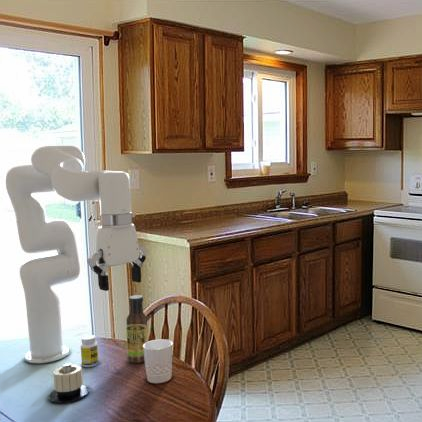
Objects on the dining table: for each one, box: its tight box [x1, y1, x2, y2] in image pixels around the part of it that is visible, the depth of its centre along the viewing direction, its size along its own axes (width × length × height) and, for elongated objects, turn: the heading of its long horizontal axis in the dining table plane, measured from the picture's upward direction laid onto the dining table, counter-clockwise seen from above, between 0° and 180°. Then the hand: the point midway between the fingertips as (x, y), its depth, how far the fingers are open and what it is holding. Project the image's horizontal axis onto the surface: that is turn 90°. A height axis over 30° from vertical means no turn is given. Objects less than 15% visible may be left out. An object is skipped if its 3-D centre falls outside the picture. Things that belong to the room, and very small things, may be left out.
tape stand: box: [48, 362, 90, 405], centre depth 140 cm, size 10×10×8 cm
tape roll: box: [52, 364, 84, 392], centre depth 140 cm, size 7×7×4 cm
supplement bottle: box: [80, 334, 99, 368], centre depth 160 cm, size 5×5×8 cm
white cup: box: [143, 338, 173, 384], centre depth 149 cm, size 8×8×10 cm
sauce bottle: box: [125, 294, 149, 364], centre depth 162 cm, size 6×6×20 cm
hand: (120, 285), depth 138 cm, fingers open, 9 cm apart
